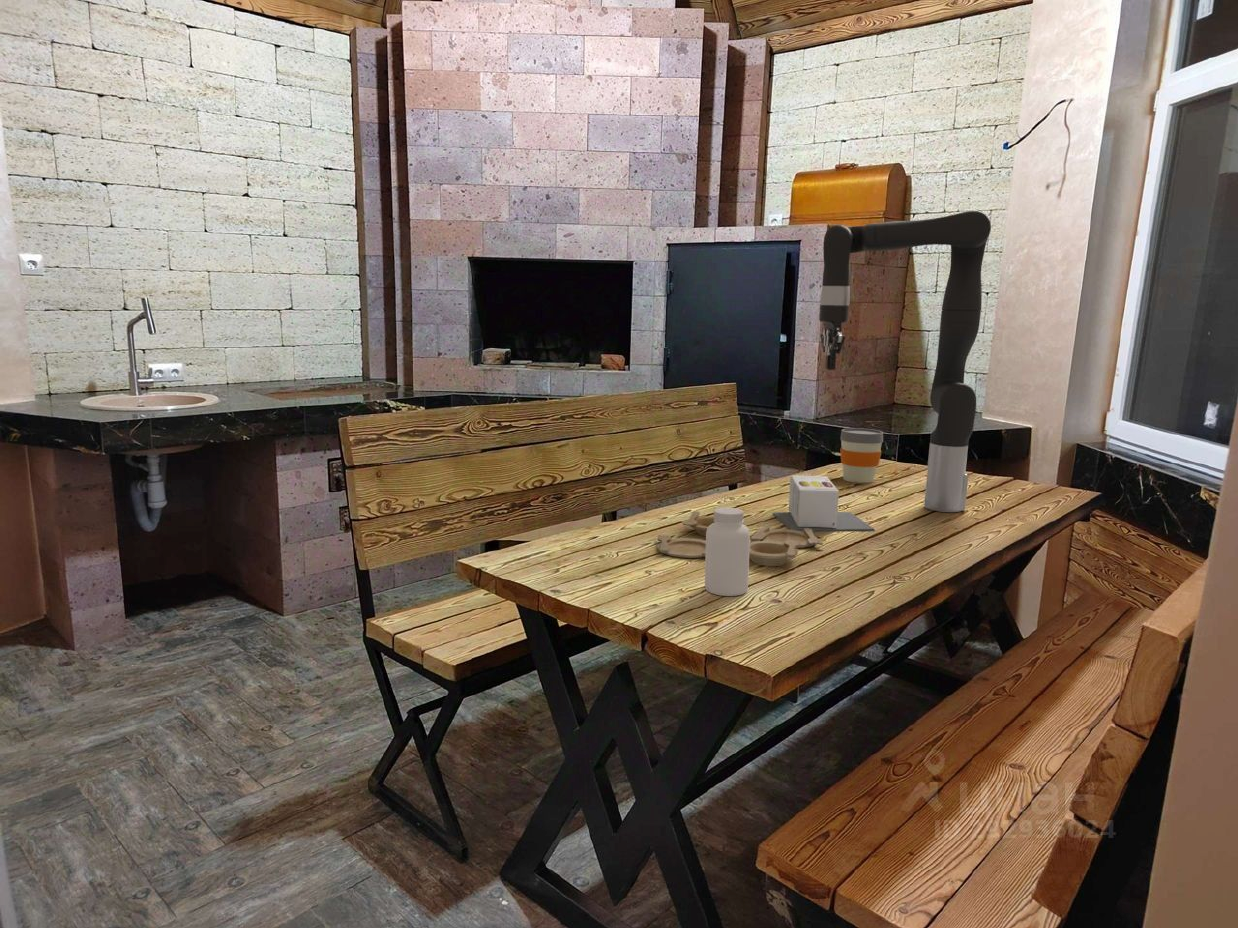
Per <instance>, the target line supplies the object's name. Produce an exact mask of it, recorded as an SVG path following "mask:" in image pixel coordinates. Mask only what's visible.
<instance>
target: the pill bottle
mask: <svg viewBox="0 0 1238 928" xmlns="http://www.w3.org/2000/svg"><path fill="white" fill-rule="evenodd" d="M713 516H714V522H715V523H713V524H711V525H710V526H709V527H708V528H707V531H706V536H705V540H706V554H705V557H704V558H705V560H704V561H705V562H704V587H705V590H706V591H707V592H708V593H710V594H713V595H717V596H721V597H722V596H723V597H736V596H742V595H743V594H746V593H747V591H748V589H749V588H748V587H749V576H750V575H749V574H750V573H749V568H750V555H749V551H750V542H751V531H750V529H749V527H748V526H747V525H746V524H743V523H744V511H743V510H742V509H740V508H736V507H718V508H715V509H714V510H713Z"/></svg>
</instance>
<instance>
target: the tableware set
mask: <svg viewBox="0 0 1238 928" xmlns="http://www.w3.org/2000/svg"><path fill="white" fill-rule="evenodd" d="M713 523H715V522H714V515H701V516H700V511H697V510H693V511H692V512H691V514H690V516H689V518H688V519H684V520H682V521H681V524H682V525H683V526H688V527H691V528H693V529H694V530H696V533H697V534H698V535H700V536H703V537H706V531H707V528H708V527H709V526H710V525H711V524H713ZM657 541H658V544H657V547H656V548H657V550H658V551H659V553H661V554H664V555H667V556H671V557H675V558H682V559H684V558H685V559H697V558H705V554H706V539H700V538H699V539H698V538H689V537H682V538H681V537H677V538H672V536H671V535H670V534H668V535H667V534H663V535H662V534H657ZM815 545H820V546H823V545H824V542H823V541H822V540H821V539H819V538H818V537H817V536H816V535H814V531H812V529H809V528H805V529H804V531H797V530H790V529H789V528H786V529H785V528H781V529H780V528H779V529H778V528H776V529H770V526H769V525H768V526H767V525H764V526H762V527H761V528H760V529H759V530H758V531H756V533H754V534H752V536H750V551H749V558H750V559H751V561H752V562H753V563H754V564H756V565H759V566H763V565H764V566H765V567H781V566H784V565H786V563H787V561H788V560H789V559H794V558H796V556H797V555H798V553H799V549H804V548H809V547H813V546H815ZM783 564H784V565H783Z"/></svg>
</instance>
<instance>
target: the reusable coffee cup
mask: <svg viewBox="0 0 1238 928" xmlns="http://www.w3.org/2000/svg"><path fill="white" fill-rule="evenodd" d="M840 432H841V433H840V437H839V439H840V442H841V444H840V445H841V447H840V448H839V451H840V463H841V464H842V474H843V475H842V477H843V480H844V481H846V482H851V483H859V484H867V483H868V484H870V483H873V482H874V481H875V476H876V472H877V467H878V466H880V465H879V464H880V460H881V456H882V450H881V448H882V443H884V432H883V431H881V430H879V429H878V430H877V429H874V428H873V429H870V428H861V427H860V428H857V427H850V428H849V427H848V428H843V429H841V431H840Z"/></svg>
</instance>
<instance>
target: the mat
mask: <svg viewBox="0 0 1238 928" xmlns="http://www.w3.org/2000/svg"><path fill="white" fill-rule="evenodd" d="M772 515H774V516H775V517H776V518H777V519H778V520H779V522H780V523H782V524H783V525H784V526H785V527H786V529H789V530H797V531H803V532H804V529H805V528H809V529H812V531H813V532H864V531H865V532H870V531H871V532H872V531H873V532H876V531H875V528H874V527H872V526H871V525H869V524H868V523H866V522H865V521H864V520H862V519H861V518H859V517H858V516H856V515H855V514H853V513H852V512H851V511H837V526H836V528H824V527H798V526H797V524H796V522H795V520H794V519H793V517H792V515H791V513H790V511H789V512H788V511H787V512H786V511H784V512H783V511H780V512H779V511H777V512H772Z"/></svg>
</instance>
